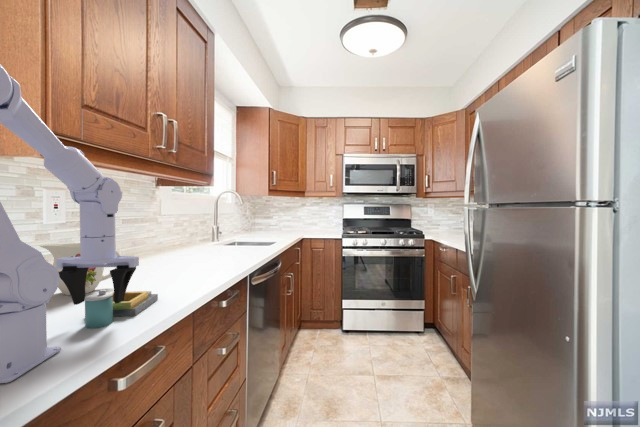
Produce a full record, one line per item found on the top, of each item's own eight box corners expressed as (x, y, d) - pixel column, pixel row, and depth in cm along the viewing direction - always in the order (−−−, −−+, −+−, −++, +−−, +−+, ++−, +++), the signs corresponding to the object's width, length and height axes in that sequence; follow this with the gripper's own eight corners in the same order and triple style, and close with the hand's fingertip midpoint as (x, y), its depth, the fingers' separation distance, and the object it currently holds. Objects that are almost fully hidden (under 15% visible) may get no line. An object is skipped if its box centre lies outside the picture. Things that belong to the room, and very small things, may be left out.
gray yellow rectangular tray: (135, 315, 64) (135, 302, 64) (86, 317, 63) (86, 303, 63) (160, 297, 76) (160, 286, 76) (119, 299, 75) (119, 287, 75)
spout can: (104, 328, 57) (103, 295, 57) (79, 329, 57) (78, 295, 57) (117, 319, 62) (117, 288, 62) (94, 320, 62) (94, 289, 61)
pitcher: (126, 288, 85) (125, 241, 85) (41, 302, 72) (40, 247, 72) (117, 281, 93) (117, 238, 92) (39, 293, 80) (38, 243, 79)
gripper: (145, 234, 64) (146, 295, 64) (74, 234, 62) (75, 297, 63) (128, 237, 57) (129, 306, 57) (46, 238, 55) (48, 308, 56)
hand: (99, 302), depth 60 cm, fingers open, 7 cm apart
